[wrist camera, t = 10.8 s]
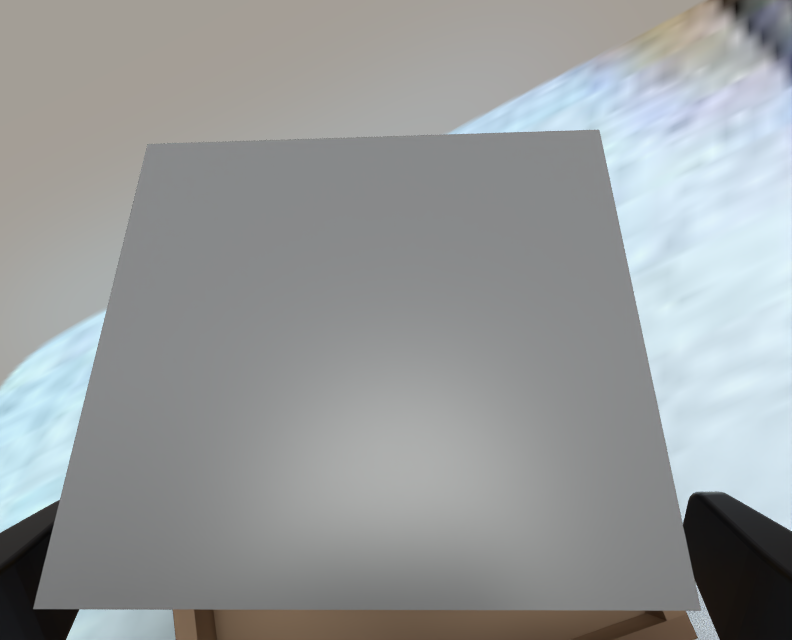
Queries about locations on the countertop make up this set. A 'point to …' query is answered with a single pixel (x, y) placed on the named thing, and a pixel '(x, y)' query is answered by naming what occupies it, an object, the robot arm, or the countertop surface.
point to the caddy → (371, 388)
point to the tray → (431, 625)
